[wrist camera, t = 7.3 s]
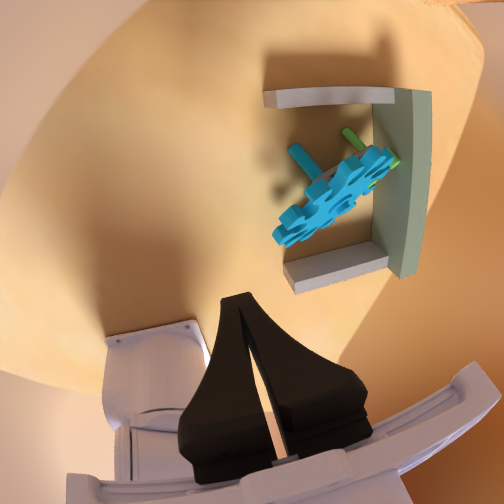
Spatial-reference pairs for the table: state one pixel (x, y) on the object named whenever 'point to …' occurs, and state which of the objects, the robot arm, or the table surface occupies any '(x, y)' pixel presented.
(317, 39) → the table surface
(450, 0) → the white cylindrical tube
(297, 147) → the blue toy cog wheel
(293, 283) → the green u-shaped bracket
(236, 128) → the table surface
